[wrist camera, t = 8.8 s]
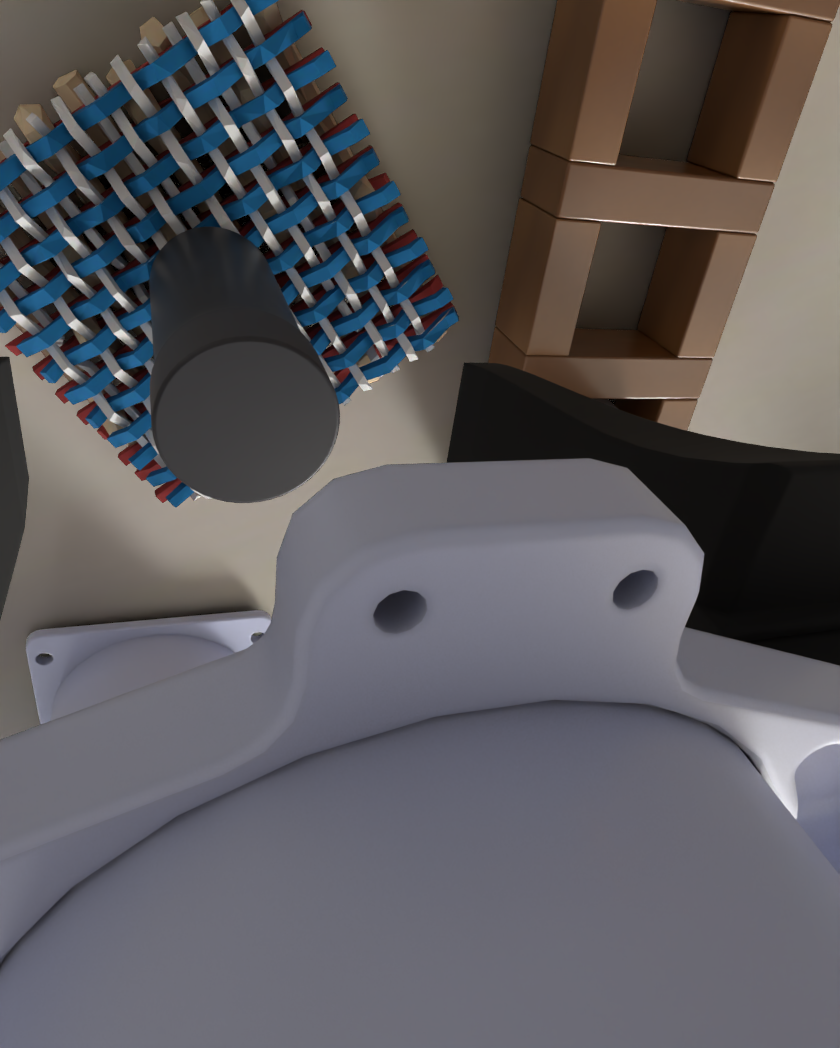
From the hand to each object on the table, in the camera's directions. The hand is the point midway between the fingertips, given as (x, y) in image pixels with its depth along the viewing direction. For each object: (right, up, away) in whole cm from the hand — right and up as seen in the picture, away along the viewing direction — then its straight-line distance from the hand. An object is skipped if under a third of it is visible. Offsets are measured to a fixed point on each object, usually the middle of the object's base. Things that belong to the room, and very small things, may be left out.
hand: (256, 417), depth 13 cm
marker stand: (+8, +6, +12) cm, 16 cm away
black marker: (-2, +4, +6) cm, 8 cm away
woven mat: (-3, +5, +8) cm, 10 cm away
